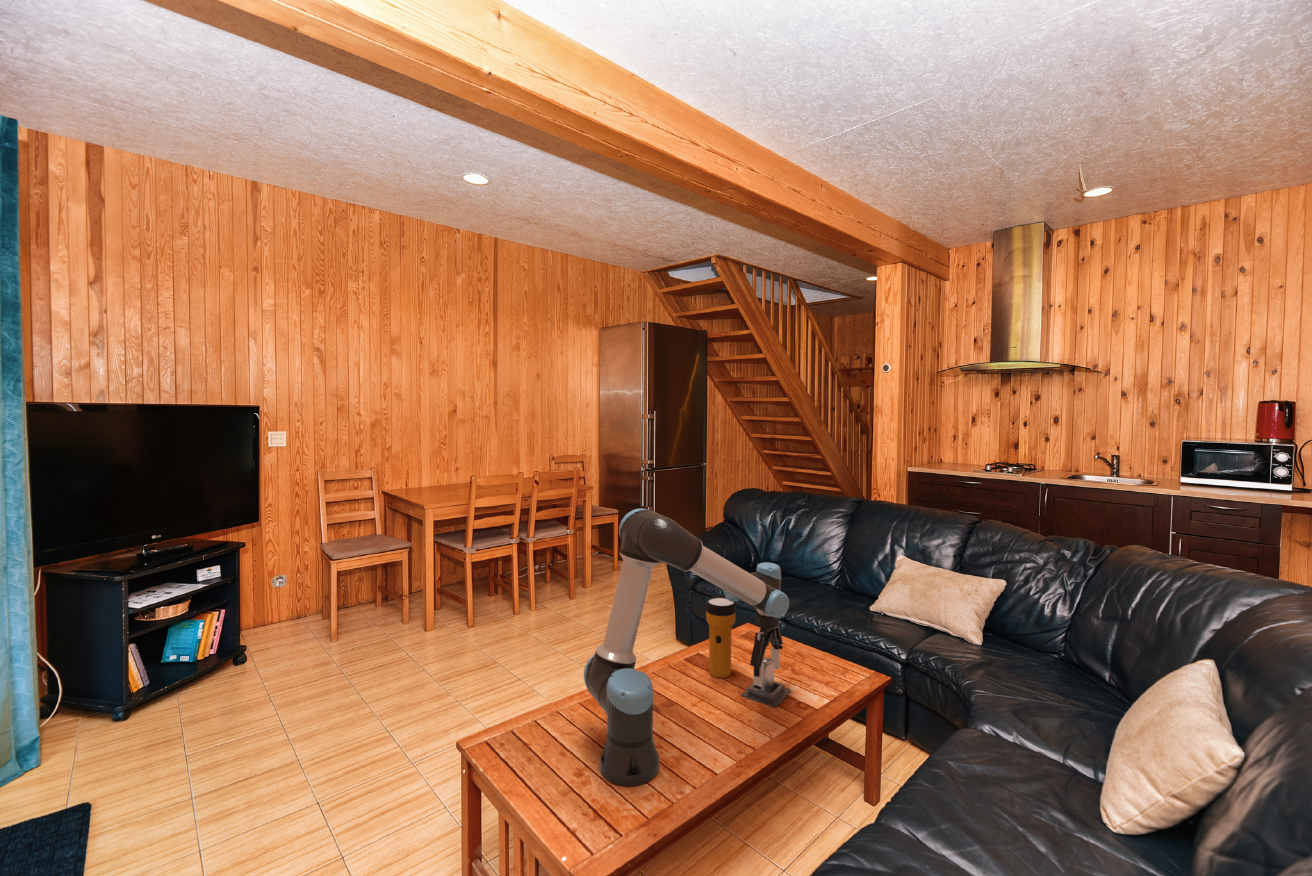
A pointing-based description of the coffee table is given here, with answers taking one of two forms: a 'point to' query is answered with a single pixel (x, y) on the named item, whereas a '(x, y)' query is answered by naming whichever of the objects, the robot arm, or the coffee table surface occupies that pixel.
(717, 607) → the flashlight
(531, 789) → the coffee table surface
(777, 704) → the collar
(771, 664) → the piston
